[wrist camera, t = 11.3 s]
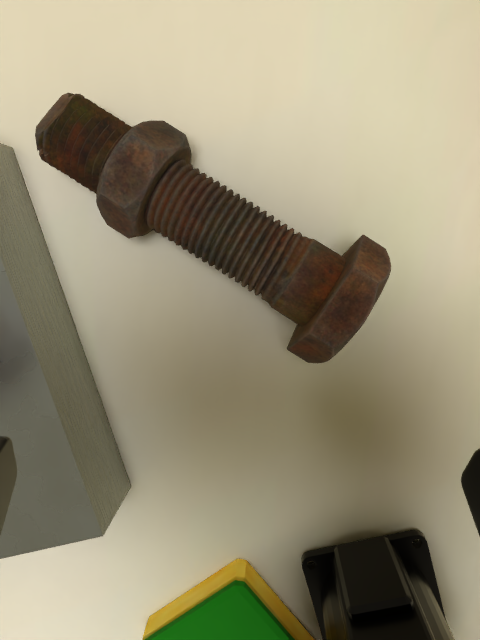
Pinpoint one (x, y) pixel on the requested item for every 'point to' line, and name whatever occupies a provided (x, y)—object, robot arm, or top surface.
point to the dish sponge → (227, 611)
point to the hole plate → (47, 394)
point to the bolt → (213, 222)
